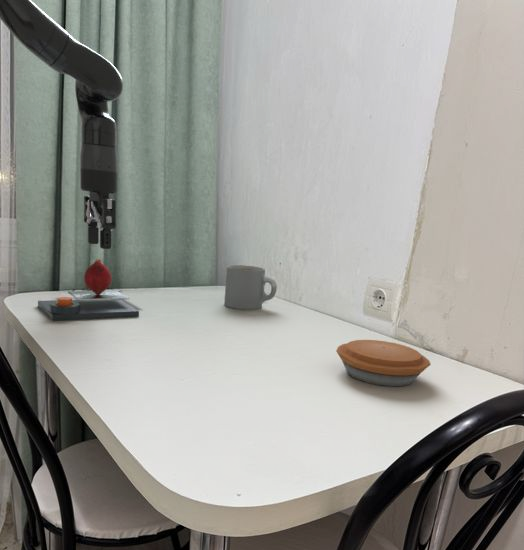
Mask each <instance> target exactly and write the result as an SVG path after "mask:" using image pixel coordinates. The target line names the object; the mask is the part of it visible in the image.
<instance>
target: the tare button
mask: <svg viewBox="0 0 524 550" xmlns="http://www.w3.org/2000/svg"><path fill="white" fill-rule="evenodd" d="M56 300H57V304H58V305H60V306H70V305H72V300H73V298H72V297H69V296H59V297H57V298H56Z"/></svg>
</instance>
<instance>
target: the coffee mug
mask: <svg viewBox="0 0 524 550" xmlns="http://www.w3.org/2000/svg"><path fill="white" fill-rule="evenodd" d="M225 275H226V276H225V286H224V287H225V289H224V302H223V303H224V306H225V307H227V308H231V309H235V310H236V309H237V310H246V311H248V310H249V311H252V310H253V311H254V310H261V309H262V308H263V307H262V306H263V303H264V302H266V301H270V300H272V299H273V298H275V296H276V294H277V282H276V280H275V278H272V277H269V276H266V269H265V268H263V267H259V266H254V265H245V264H229V265H227V266H226V273H225ZM266 283H269V285H270V287H271V289H270V293H268V294H267V293H266V292H265V291H266V290H265V285H266Z"/></svg>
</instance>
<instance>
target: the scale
mask: <svg viewBox="0 0 524 550" xmlns="http://www.w3.org/2000/svg"><path fill="white" fill-rule="evenodd" d="M37 307H38V308H39V310H40V311H41V312H42V313H44V314H45V315H46V317H48V319H50V320H51V321H52V322H65V321H85V320H102V319H103V320H104V319H122V318H123V319H124V318H139V317H140V311H139V309H136V308H134V307H133V306H131V305H130V304H128V303H126V302H125V301H124V300H91V301H79V300H77V299H72V305H70V306H60V305H58V304H57V299H55V300H54V299H53V300H52V299H51V300H37Z"/></svg>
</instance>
